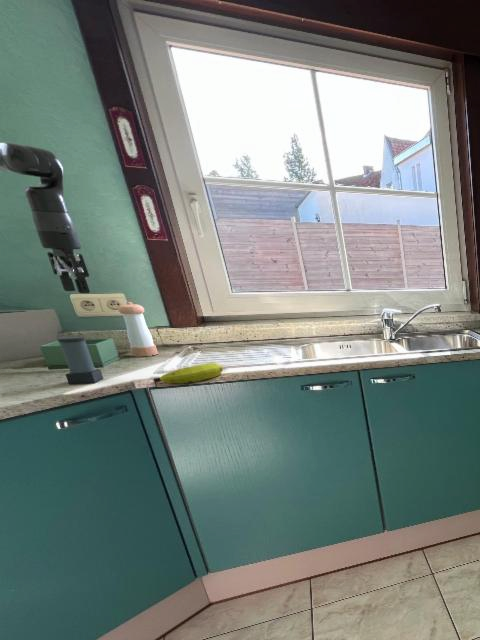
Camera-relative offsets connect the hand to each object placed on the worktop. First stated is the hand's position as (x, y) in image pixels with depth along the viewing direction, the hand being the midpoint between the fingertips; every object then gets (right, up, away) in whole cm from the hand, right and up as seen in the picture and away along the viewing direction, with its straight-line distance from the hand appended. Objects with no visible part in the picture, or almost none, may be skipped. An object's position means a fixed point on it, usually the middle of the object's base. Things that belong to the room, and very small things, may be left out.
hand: (77, 292), depth 140 cm
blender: (-4, -25, +6) cm, 26 cm away
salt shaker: (-21, -10, +43) cm, 49 cm away
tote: (-25, -16, +26) cm, 40 cm away
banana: (+21, -23, +15) cm, 34 cm away
